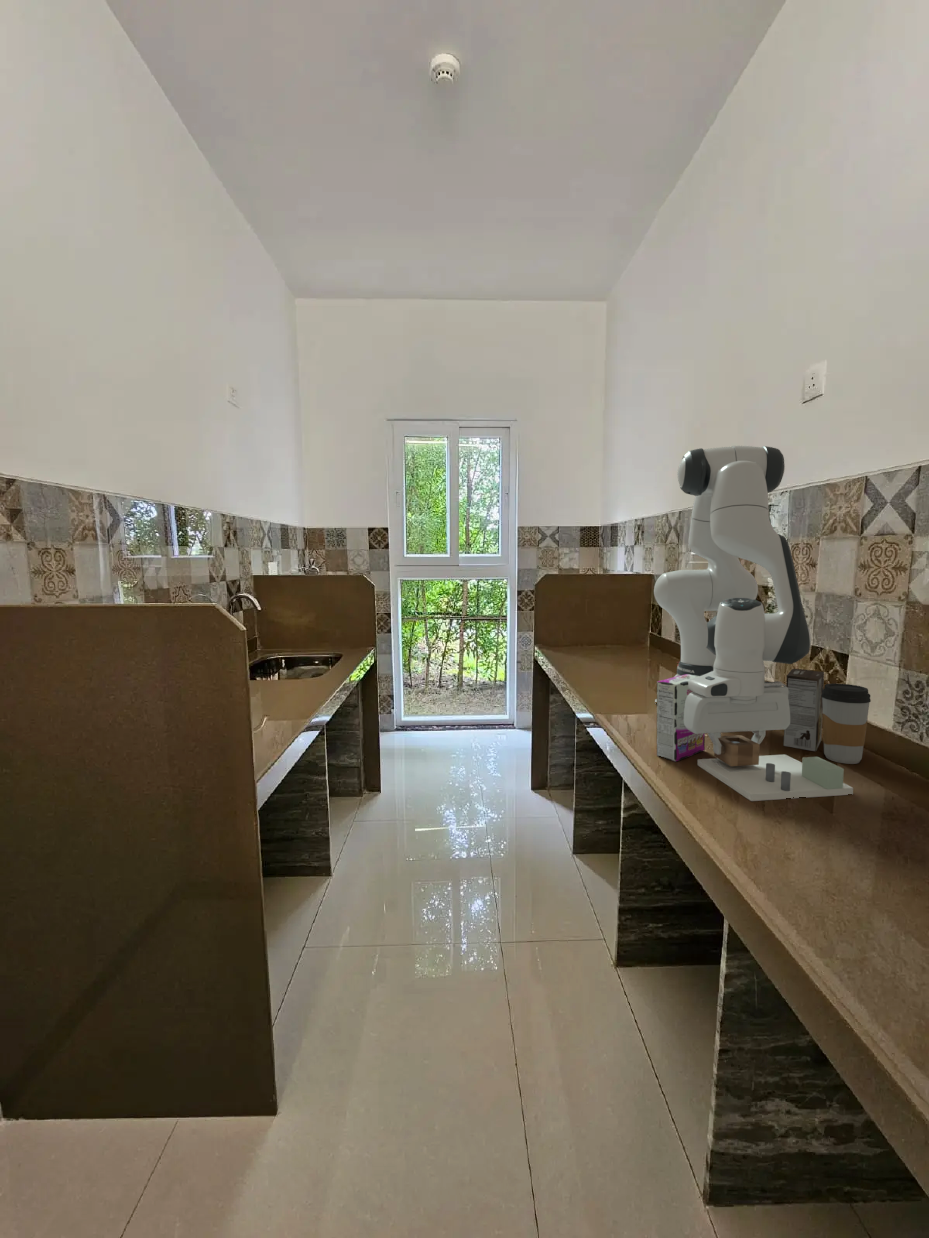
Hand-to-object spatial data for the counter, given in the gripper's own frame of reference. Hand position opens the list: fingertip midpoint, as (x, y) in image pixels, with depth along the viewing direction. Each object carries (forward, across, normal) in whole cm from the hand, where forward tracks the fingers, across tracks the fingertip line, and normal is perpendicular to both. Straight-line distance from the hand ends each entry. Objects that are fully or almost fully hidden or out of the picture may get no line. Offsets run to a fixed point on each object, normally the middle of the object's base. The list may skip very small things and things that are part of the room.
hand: (735, 752), depth 105 cm
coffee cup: (+4, -26, -3) cm, 26 cm away
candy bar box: (+4, +6, -11) cm, 13 cm away
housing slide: (+2, -10, +10) cm, 14 cm away
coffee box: (+4, -24, -13) cm, 28 cm away
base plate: (+4, -4, +4) cm, 7 cm away
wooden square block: (+2, 0, 0) cm, 2 cm away
